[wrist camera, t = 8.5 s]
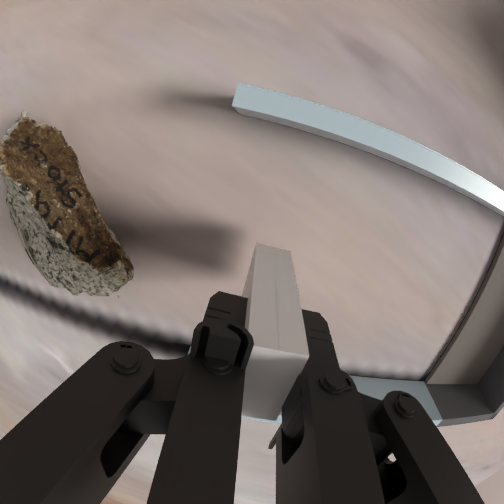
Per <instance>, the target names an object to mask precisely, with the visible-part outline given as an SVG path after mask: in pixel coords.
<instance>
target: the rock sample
mask: <svg viewBox="0 0 504 504" xmlns="http://www.w3.org/2000/svg"><path fill="white" fill-rule="evenodd" d="M26 114H27V112H25V111H22V112H21V118H20V119H18V117H17V119H16V120H15V124H14V125H13V126H12V128H10V129H8V130H7V132H8V133H7V134H8V135H4V136H3V140H2V142H1V144H0V172H1V173H2V174H3V176H4V182H5V183H6V185H7V189H8V194H7V199H6V203H7V204H8V206H9V207H10V214H11V219H12V221H13V223H14V224H15V226H16V227H17V229H18V233H19V236H20V238H21V241H22V243H23V245H24V248H25V250H26V252H27V254H28V256H29V258H30V259H31V261H32V263H33V264H34V265H35V266H36V268H37V269H38V270H39V271H40V273H41V274H42V275H43V276H44V277H45V278H46V279H47V281H48V282H49V283H50V284H51V285H52V286H54V287H61V288H66V289H67V290H69V291H70V292H71V293H72V294H73V295H77V296H78V294H80V293H81V292H86V293H87V294H89V295H91V296H109V295H110V294H111V293H112V292H115V291H118V290H119V288H120V287H121V286H124V284H126V283H127V282H128V281H130V280H132V278H133V272H134V268H133V266H132V264H131V262H130V260H129V258H128V256H127V255H126V254H125V252H124V250H123V248H122V246H121V245H120V243H119V240H118V238H117V236H116V235H115V234H114V233H113V232H112V230H111V229H110V228H109V227H108V226H107V225H106V223H105V222H104V220H103V219H102V218H101V214H100V212H99V211H98V210H97V207H96V204H95V202H94V199H93V197H92V195H91V194H90V192H89V191H88V189H87V186H86V183H85V181H84V178H83V176H82V174H81V171H80V168H81V167H80V165H79V162H78V158H77V155H76V154H75V153H74V151H73V149H72V148H71V146H69V147H68V145H67V142H66V141H65V138H64V136H63V135H62V133H61V132H62V131H59V130H57V129H56V128H55V127H54V128H53V127H52V126H50V124H48V125H47V124H46V123H44V122H40V123H37V122H35V121H34V120H31V119H29V118H26V117H25V116H26ZM18 121H19V122H18ZM117 296H118V295H117ZM118 297H119V296H118ZM82 330H83V329H82Z"/></svg>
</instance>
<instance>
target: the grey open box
mask: <svg viewBox="0 0 504 504" xmlns="http://www.w3.org/2000/svg"><path fill="white" fill-rule="evenodd" d="M424 383H425V385H426V387H427V389H428V391H429V393H430V395H431V397H432V399H433V401H434V403H435V405H436V407H437V409H438V411H439V413H440V415H441V417H442V419H443V420H442V421H441V422H440V423H439V424H438V425H437V426H436V427H440V426H449V425H457V424H465V423H472V422H478V421H484V420H489V419H493V418H494V417H495V416H496V415H497V414H498V413H499V411H500V410H501V409H502V408H503V407H504V234H503V237H502V240H501V242H500V245H499V247H498V250H497V252H496V255H495V257H494V259H493V262H492V264H491V266H490V269H489V271H488V273H487V275H486V277H485V279H484V282H483V284H482V286H481V288H480V290H479V292H478V294H477V296H476V298H475V300H474V302H473V304H472V305H471V307H470V309H469V311H468V313H467V315H466V316H465V318H464V320H463V322H462V323H461V325H460V327H459V329H458V330H457V332H456V334H455V335H454V337H453V339H452V340H451V342H450V343H449V345H448V347H447V348H446V350H445V351H444V353H443V354H442V356H441V357H440V359H439V360H438V362H437V363H436V365H435V366H434V368H433V369H432V371H431V372H430V373H429V375H428V376H427V378H426V379H425V381H424Z"/></svg>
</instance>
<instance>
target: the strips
mask: <svg viewBox="0 0 504 504" xmlns="http://www.w3.org/2000/svg"><path fill="white" fill-rule="evenodd" d="M232 107H233V108H234V109H236V110H237V111H238V112H239V113H240V114H241V115H246V116H250V117H254V118H258V119H262V120H266V121H270V122H274V123H278V124H282V125H285V126H289V127H292V128H296V129H299V130H303V131H306V132H310V133H313V134H316V135H319V136H322V137H326V138H329V139H332V140H335V141H338V142H341V143H344V144H347V145H349V146H352V147H355V148H358V149H361V150H363V151H366V152H369V153H371V154H374V155H377V156H379V157H382V158H384V159H387V160H389V161H392V162H394V163H397V164H399V165H401V166H404V167H406V168H408V169H411V170H413V171H415V172H418V173H420V174H422V175H424V176H426V177H429V178H431V179H433V180H435V181H437V182H439V183H441V184H443V185H446V186H448V187H450V188H452V189H454V190H456V191H458V192H460V193H461V194H463V195H465V196H467V197H469V198H471V199H473V200H475V201H477V202H478V203H480V204H482V205H484V206H486V207H487V208H489V209H491V210H493V211H494V212H496V213H498V214H500V215H501V216H503V217H504V191H503V190H501V189H500V188H498V187H496V186H495V185H493V184H492V183H490V182H489V181H487V180H485V179H484V178H482V177H481V176H479V175H477V174H476V173H474V172H472V171H470V170H469V169H467V168H465V167H463V166H462V165H460V164H458V163H456V162H455V161H453V160H451V159H449V158H447V157H445V156H443V155H441V154H439V153H438V152H436V151H434V150H432V149H430V148H428V147H426V146H424V145H421V144H419V143H417V142H415V141H413V140H411V139H409V138H407V137H404V136H402V135H400V134H398V133H395V132H393V131H391V130H388V129H386V128H384V127H381V126H379V125H376V124H374V123H371V122H369V121H366V120H364V119H361V118H358V117H356V116H353V115H350V114H347V113H345V112H342V111H339V110H336V109H333V108H330V107H327V106H324V105H321V104H318V103H314V102H311V101H308V100H305V99H301V98H298V97H294V96H291V95H287V94H283V93H279V92H276V91H272V90H268V89H263V88H259V87H255V86H250V85H246V84H241V83H238V84H237V88H236V91H235V95H234V99H233V103H232ZM190 350H191V346H190V349H189V352H188V354H189V353H190ZM349 376H350V377H351V378H352V379H353V381H354V383H355V385H356V387H357V391H358V392H360V393H362V394H365V395H368V396H370V397H373V398H376V399H379V400H383V398H384V397H385V396H386V394H387V393H389V392H391V391H403V392H406V393H409V394H410V395H412V396H413V397H415V398H416V399H417V400H418V401H419V402H420V403H421V405H422V406H423V408H424V409H425V411H426V412H427V414H428V415H429V417H430V418H431V419H432V421H433V422H434V424H435V425H436V426H437V425H438V424H439V423H440V422H441V421H442V420H443V419H442V417H441V415H440V413H439V411H438V409H437V407H436V405H435V403H434V401H433V399H432V397H431V395H430V393H429V391H428V389H427V387H426V385H425V383H424V381H408V380H393V379H381V378H370V377H360V376H351V375H349ZM241 418H245V419H251V420H257V421H264V422H270V423H278V424H282V410H281V412H280V414H279V416H278V418H277V420H276V421H273V420H267V419H260V418H254V417H248V416H242V415H241Z"/></svg>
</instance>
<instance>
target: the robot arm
mask: <svg viewBox="0 0 504 504" xmlns="http://www.w3.org/2000/svg"><path fill="white" fill-rule="evenodd" d="M281 410H282V424H281V425H280V427H279V429H278V430H277V432H276V434H275V435H274V437H273V438H272V440H271V442H270V444H269V448H268V449H272V448H273V447H274V445H275V444H276V504H484V502H483V500H482V499H481V497H480V495H479V493H478V492H477V490H476V489H475V487H474V485H473V483H472V482H471V480H470V478H469V477H468V475H467V474H466V472H465V470H464V469H463V467H462V466H461V464H460V462H459V461H458V459H457V458H456V456H455V455H454V453H453V451H452V450H451V448H450V447H449V445H448V444H447V442H446V441H445V439H444V438H443V436H442V434H441V433H440V431H439V430H438V428H437V427H436V425H435V424H434V422H433V421H432V419H431V418H430V417H429V415H428V414H427V412H426V411H425V409H424V408H423V406H422V405H421V403H420V402H419V401H418V400H417V399H416V398H415V397H413V396H412V395H410V394H409V393H406V392H403V391H391V392H389V393H387V394H386V396H385V397H384V398H383V400H379V399H376V398H373V397H370V396H368V395H365V394H362V393H360V392H358V391H357V387H356V385H355V383H354V381H353V379H352V378H351V377H350V376H349V375H348V374H347V373H345V372H343V371H342V370H340V368H339V364H338V360H337V357H336V353H335V349H334V345H333V342H332V338H331V335H330V331H329V327H328V324H327V322H326V321H325V319H324V318H323V317H322V316H321V314H320V313H317V312H312V311H308V310H303V309H301V304H300V298H299V293H298V287H297V282H296V276H295V271H294V266H293V261H292V255H291V251H287V250H283V249H279V248H275V247H271V246H267V245H263V244H259V243H256V246H255V250H254V254H253V257H252V261H251V265H250V268H249V272H248V276H247V280H246V283H245V287H244V291H243V294H242V297H241V296H237V295H232V294H228V293H224V292H220V291H219V292H217V293H216V294H215V295H213V296H212V297H211V298H210V300H209V304H208V307H207V310H206V313H205V316H204V319H203V322H201V323H199V324H198V325H197V326H196V328H195V329H194V333H193V338H192V344H191V350H190V353H189V354H188V355H186V356H184V357H181V358H178V359H170V360H162V359H154V358H153V357H152V355H151V354H150V352H149V351H148V350H147V349H145V348H144V347H142V346H141V345H138V344H135V343H133V342H124V341H119V342H114V343H110V344H108V345H107V346H105V347H103V348H102V349H101V350H100V351H98V352H97V353H96V354H95V355H94V356H93V357H92V358H90V359H89V360H88V361H87V362H86V363H85V364H84V365H82V366H81V367H80V368H79V369H78V370H77V371H76V372H75V373H73V374H72V375H71V376H70V377H69V378H68V379H67V380H66V381H64V382H63V383H62V384H61V385H60V386H59V387H58V388H57V389H56V390H54V391H53V392H52V393H51V394H50V395H49V396H48V397H47V398H46V399H44V400H43V401H42V402H41V403H40V404H39V405H38V406H37V407H36V408H35V409H33V410H32V411H31V412H30V413H29V414H28V415H27V416H26V417H25V418H24V419H23V420H22V421H20V422H19V423H18V424H17V425H16V426H15V427H14V428H13V429H12V430H11V431H10V432H9V433H8V434H7V435H5V436H4V437H3V438H2V439H1V440H0V504H100V503H101V502H102V500H103V499H104V498H105V496H106V495H107V494H108V492H109V491H110V489H111V488H112V487H113V485H114V484H115V483H116V481H117V480H118V479H119V477H120V476H121V474H122V473H123V472H124V470H125V469H126V468H127V466H128V465H129V463H130V462H131V461H132V459H133V458H134V457H135V455H136V454H137V452H138V451H139V450H140V448H141V447H142V445H143V444H144V443H145V441H146V440H147V438H148V437H149V436H150V434H166V436H165V439H164V443H163V446H162V450H161V453H160V457H159V460H158V464H157V467H156V471H155V475H154V478H153V482H152V486H151V489H150V493H149V497H148V500H147V504H234V493H235V482H236V471H237V460H238V449H239V438H240V426H241V415H242V416H248V417H254V418H260V419H267V420H273V421H276V420H277V418H278V416H279V414H280V412H281ZM392 452H393V454H394V456H395V458H396V461H395V462H392V461H390V460H389V459H388V456H389V455H390V454H391V453H392Z"/></svg>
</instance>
